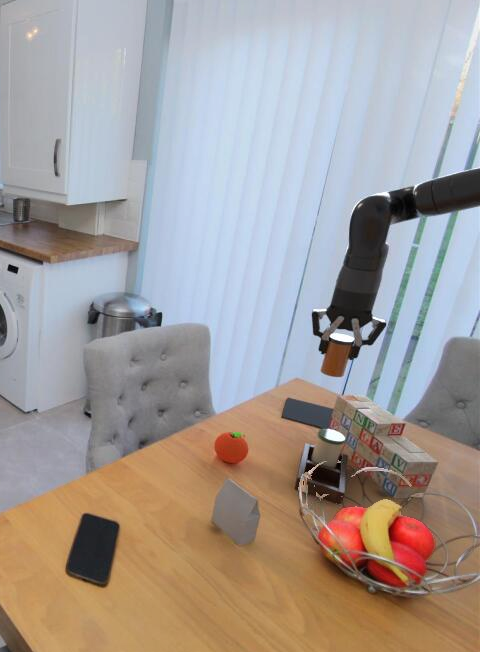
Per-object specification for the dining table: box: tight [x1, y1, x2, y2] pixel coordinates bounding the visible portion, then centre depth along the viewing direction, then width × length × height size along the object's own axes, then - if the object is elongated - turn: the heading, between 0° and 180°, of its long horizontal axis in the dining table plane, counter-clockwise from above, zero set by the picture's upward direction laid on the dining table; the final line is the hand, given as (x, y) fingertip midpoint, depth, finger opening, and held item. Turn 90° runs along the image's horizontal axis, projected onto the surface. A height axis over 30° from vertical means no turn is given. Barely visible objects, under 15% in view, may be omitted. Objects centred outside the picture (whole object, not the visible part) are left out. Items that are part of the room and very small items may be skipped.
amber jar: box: [319, 333, 355, 378], centre depth 112 cm, size 5×5×9 cm
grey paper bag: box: [210, 477, 261, 547], centre depth 90 cm, size 4×7×10 cm, turn 19°
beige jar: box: [310, 428, 345, 469], centre depth 106 cm, size 5×5×9 cm
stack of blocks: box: [328, 394, 439, 499], centre depth 106 cm, size 21×6×12 cm, turn 178°
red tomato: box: [213, 431, 249, 464], centre depth 111 cm, size 8×7×7 cm
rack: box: [293, 442, 349, 505], centre depth 104 cm, size 8×15×3 cm, turn 142°
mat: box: [281, 397, 334, 429], centre depth 127 cm, size 14×12×1 cm
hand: (336, 355), depth 112 cm, fingers closed on amber jar, 4 cm apart
